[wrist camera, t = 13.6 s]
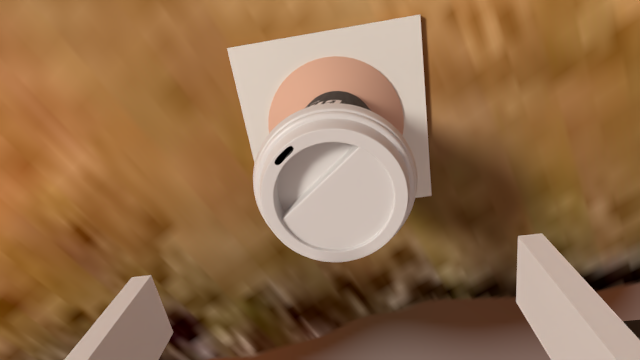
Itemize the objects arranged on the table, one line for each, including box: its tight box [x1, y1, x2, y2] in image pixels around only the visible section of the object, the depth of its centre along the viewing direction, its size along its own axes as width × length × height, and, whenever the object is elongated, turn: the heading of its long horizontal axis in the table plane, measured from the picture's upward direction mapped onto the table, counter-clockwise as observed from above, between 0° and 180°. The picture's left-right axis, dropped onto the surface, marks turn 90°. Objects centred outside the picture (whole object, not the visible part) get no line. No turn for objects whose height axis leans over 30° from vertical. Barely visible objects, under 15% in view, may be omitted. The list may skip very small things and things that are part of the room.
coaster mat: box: [227, 15, 432, 198], centre depth 35 cm, size 16×16×1 cm
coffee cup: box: [253, 91, 418, 262], centre depth 28 cm, size 10×10×15 cm
